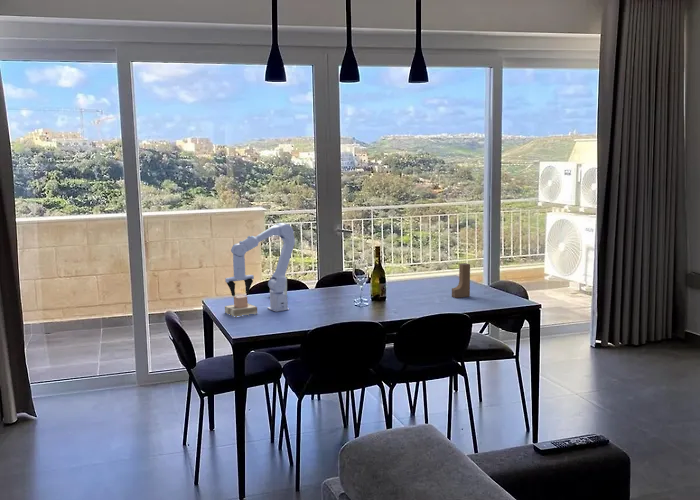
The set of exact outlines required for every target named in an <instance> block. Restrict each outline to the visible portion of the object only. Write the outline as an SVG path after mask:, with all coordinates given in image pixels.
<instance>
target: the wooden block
mask: <svg viewBox="0 0 700 500" xmlns="http://www.w3.org/2000/svg"><path fill="white" fill-rule="evenodd" d="M458 264H459V266H458V267H459V268H458V269H459V270H458V274H459V275H458V284H457V286H455V287H453V288H451V297H452V298H454V299H458V298H469V297H471V296H470V295H471V292H470V291H471V285H470V284H471V264H470V263H468V262H465V263H458Z"/></svg>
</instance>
